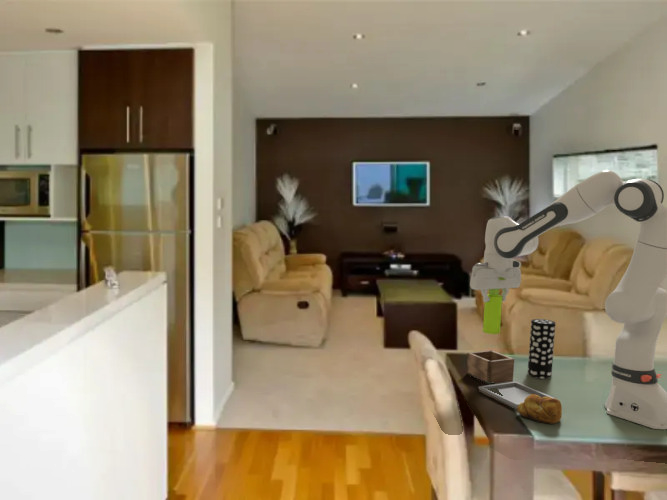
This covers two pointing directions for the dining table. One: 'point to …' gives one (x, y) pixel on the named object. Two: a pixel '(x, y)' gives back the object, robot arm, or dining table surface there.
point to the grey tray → (512, 392)
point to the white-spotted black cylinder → (541, 348)
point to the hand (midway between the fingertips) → (494, 301)
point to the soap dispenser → (493, 312)
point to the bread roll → (541, 409)
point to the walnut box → (490, 366)
